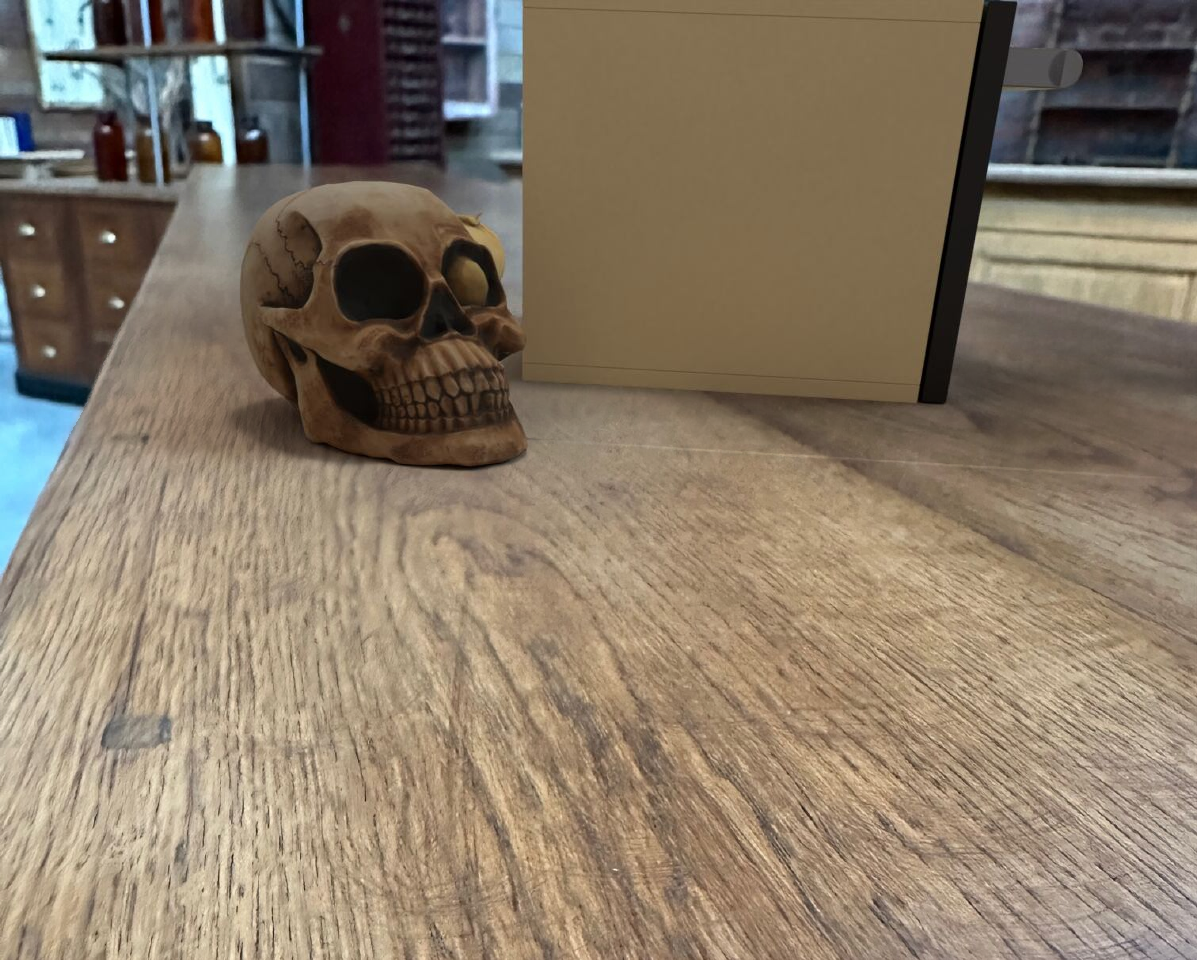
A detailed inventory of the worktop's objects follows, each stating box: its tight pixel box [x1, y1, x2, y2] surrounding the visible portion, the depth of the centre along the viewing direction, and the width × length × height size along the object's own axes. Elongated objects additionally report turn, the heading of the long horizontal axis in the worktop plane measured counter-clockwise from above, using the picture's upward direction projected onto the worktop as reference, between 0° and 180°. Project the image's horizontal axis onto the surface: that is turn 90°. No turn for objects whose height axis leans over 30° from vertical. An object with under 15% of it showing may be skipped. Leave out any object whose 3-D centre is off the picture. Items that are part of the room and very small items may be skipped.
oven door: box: [918, 0, 1084, 404], centre depth 83 cm, size 7×28×22 cm, turn 174°
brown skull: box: [239, 180, 528, 467], centre depth 64 cm, size 16×17×13 cm
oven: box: [521, 0, 985, 404], centre depth 84 cm, size 26×28×22 cm
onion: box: [455, 211, 506, 281], centre depth 111 cm, size 8×8×7 cm
